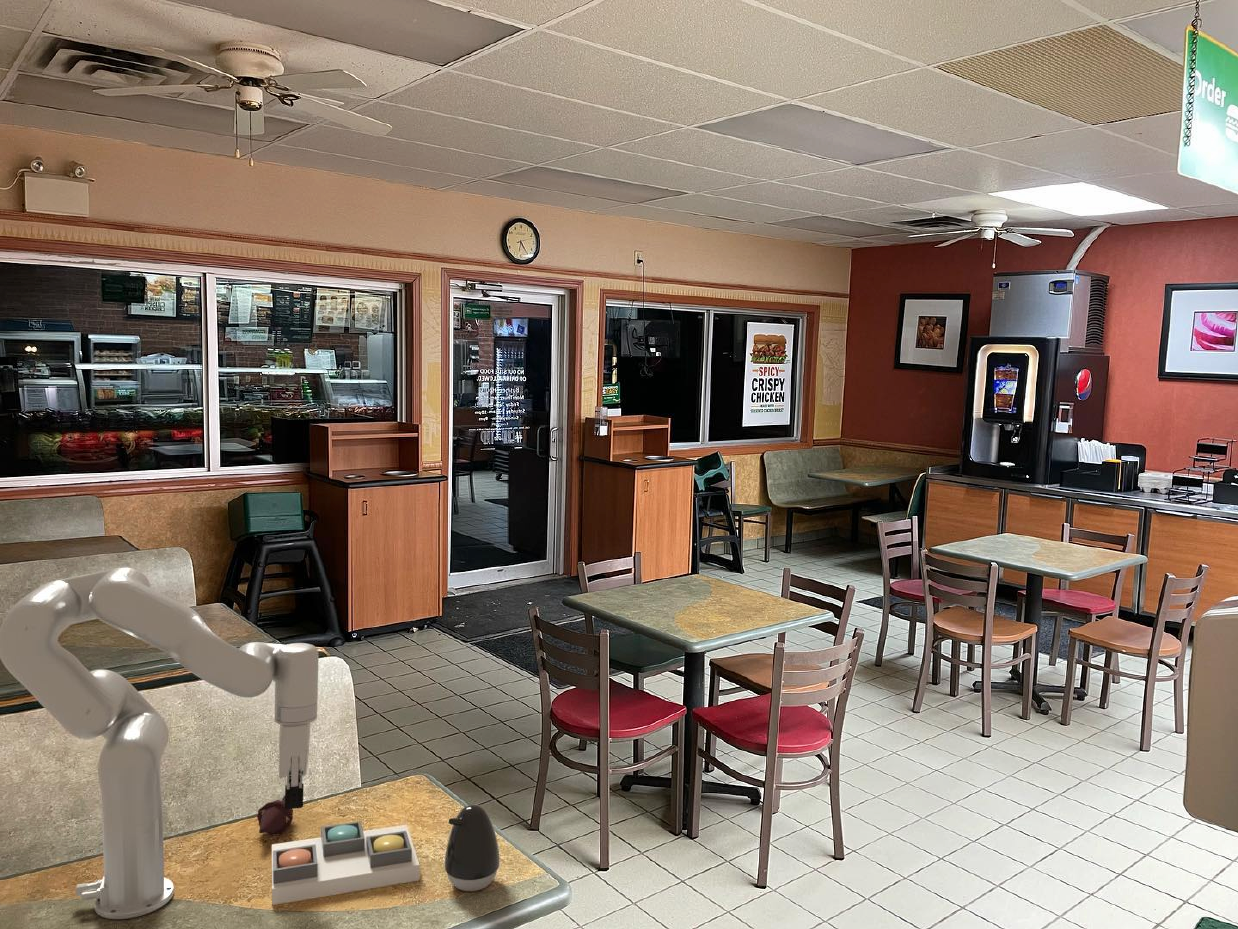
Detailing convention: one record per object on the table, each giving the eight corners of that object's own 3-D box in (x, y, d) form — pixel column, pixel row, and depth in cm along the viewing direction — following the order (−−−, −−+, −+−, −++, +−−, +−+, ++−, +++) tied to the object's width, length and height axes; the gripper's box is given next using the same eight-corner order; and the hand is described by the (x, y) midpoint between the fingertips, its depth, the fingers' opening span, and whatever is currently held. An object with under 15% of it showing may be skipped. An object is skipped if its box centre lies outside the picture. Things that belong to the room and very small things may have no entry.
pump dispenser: (432, 884, 172) (432, 806, 170) (476, 864, 179) (477, 789, 178) (466, 906, 165) (466, 824, 163) (510, 884, 172) (511, 806, 171)
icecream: (283, 820, 182) (310, 794, 197) (247, 809, 182) (277, 784, 197) (273, 854, 182) (301, 825, 197) (238, 843, 182) (268, 815, 197)
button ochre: (375, 863, 172) (375, 851, 172) (372, 849, 178) (372, 837, 177) (405, 858, 174) (405, 846, 174) (401, 845, 180) (401, 833, 179)
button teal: (328, 852, 176) (328, 840, 176) (326, 839, 181) (326, 827, 181) (358, 848, 178) (358, 836, 178) (356, 835, 183) (356, 823, 183)
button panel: (272, 905, 164) (272, 875, 163) (271, 859, 179) (271, 832, 179) (419, 880, 173) (419, 852, 172) (406, 838, 189) (406, 813, 188)
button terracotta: (279, 879, 166) (279, 866, 166) (278, 864, 172) (278, 851, 171) (311, 874, 168) (311, 861, 168) (310, 859, 174) (310, 847, 173)
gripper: (275, 699, 176) (273, 792, 177) (273, 726, 162) (271, 827, 163) (316, 697, 179) (314, 788, 180) (318, 723, 164) (315, 822, 166)
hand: (293, 806), depth 172 cm, fingers closed
